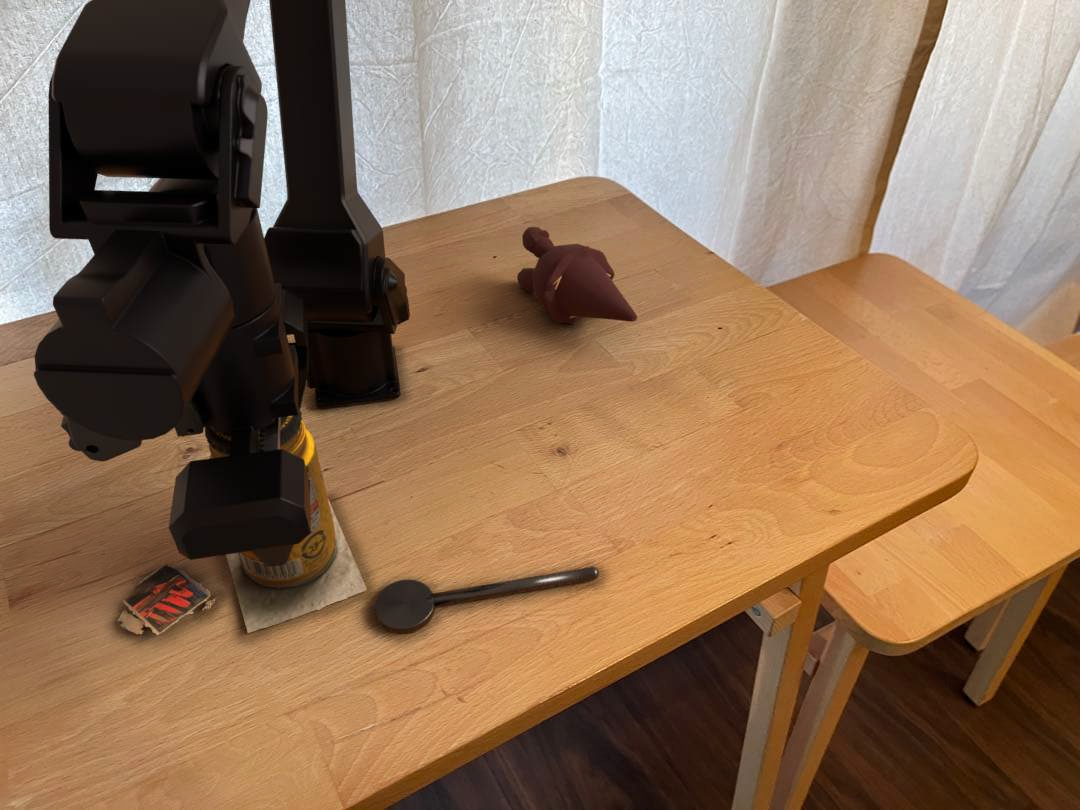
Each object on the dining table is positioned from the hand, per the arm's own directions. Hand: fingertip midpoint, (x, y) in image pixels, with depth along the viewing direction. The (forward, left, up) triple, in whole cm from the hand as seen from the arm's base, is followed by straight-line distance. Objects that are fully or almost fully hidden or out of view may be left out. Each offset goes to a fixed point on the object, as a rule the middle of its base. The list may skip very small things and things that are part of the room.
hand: (278, 510), depth 54 cm
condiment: (0, +1, -5) cm, 5 cm away
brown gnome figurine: (-24, -22, -5) cm, 33 cm away
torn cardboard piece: (+8, +2, -4) cm, 9 cm away
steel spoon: (-12, +6, -4) cm, 14 cm away
